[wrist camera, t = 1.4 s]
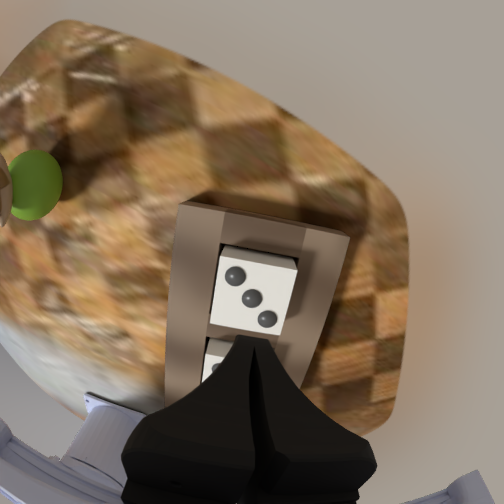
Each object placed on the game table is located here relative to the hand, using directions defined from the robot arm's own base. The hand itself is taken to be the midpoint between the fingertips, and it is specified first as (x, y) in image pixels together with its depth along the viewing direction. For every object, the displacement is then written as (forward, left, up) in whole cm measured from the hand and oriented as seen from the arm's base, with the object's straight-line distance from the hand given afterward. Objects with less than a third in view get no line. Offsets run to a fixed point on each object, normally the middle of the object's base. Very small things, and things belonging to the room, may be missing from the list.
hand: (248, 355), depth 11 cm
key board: (-7, 0, -9) cm, 12 cm away
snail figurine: (+5, +18, -10) cm, 21 cm away
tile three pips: (0, 0, -8) cm, 8 cm away
